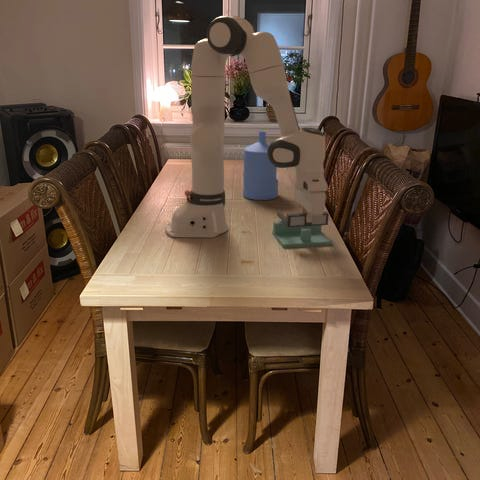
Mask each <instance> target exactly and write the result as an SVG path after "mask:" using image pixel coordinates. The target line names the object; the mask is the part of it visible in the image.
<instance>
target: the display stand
mask: <svg viewBox="0 0 480 480" xmlns="http://www.w3.org/2000/svg"><path fill="white" fill-rule="evenodd" d="M272 223H273V225H272V226H273V227H272V228H273V229H272V234H271V235H273V237H274V238H275V239H276V241H277V242H278V244H280V246H281V247H282V248H283V249H287V248H289V249H290V248H302V247H303V248H304V247H318V246H321V247H322V246H332V244H333V242H332V241H333V240H331V239H330V238H329V237H328V236H327V235H326V234H325V233H324V232H323V231H322V226H323V225H317V226H300V227H287V226H286V225H285V224H284V223H283V222H282V220H275V221H274V220H273V222H272Z"/></svg>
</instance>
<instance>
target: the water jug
mask: <svg viewBox="0 0 480 480" xmlns="http://www.w3.org/2000/svg"><path fill="white" fill-rule="evenodd" d="M266 134H267V132H266V131H258V141H257V142H255V143H252V144H250V145H248V146H246V147H245V148H244V149H243V172H242V177H243V178H242V179H243V181H242V182H243V183H242V184H243V185H242V188H243V189H242V195H243V197H245V198H246V199H248V200H253V201H271V200H274V199H276V198H277V197H278V196H279V180H278V179H277V168H278V167H275V166H274V165H273V164H272V163H271V162H270V161H269V159H268V154H267V152H268V147H269V145H270V144H271V143H269V142H267V140H266V139H267V135H266Z"/></svg>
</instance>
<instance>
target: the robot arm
mask: <svg viewBox="0 0 480 480" xmlns="http://www.w3.org/2000/svg"><path fill="white" fill-rule="evenodd" d="M256 29H257V28H256V26H255V25H254V24H253V22H251V21H250V20H249V19H247V18H244V17H240V16H236V15H230V16H229V15H221V16H218V17H216V18H214V19H213V20H212V21H211V22H210V23H209V25H208V26H207V30H206V38H204V39H201V40H199V41H197V42H196V43H195V45H194V47H193V52H192V59H191V70H190V72H191V74H190V75H191V76H190V77H191V79H190V80H191V81H190V84H191V85H190V87H191V88H190V89H191V90H190V93H191V95H190V96H191V98H190V99H191V100H190V101H191V115H192V118H191V119H192V129H191V131H190V133H189V146H190V162H191V177H192V178H191V179H192V184H191V185H192V189H191V190H189V189H185V190H184V195H185V196H186V201H185V202H183V204H182V205H180V206H179V207H177V208H176V209H175V210H173V214H172V216H171V221H170V222H168V223H167V224H166V225H165V233H166V235H168V236H169V237H171V238H208V239H209V238H216V237H217V236H218V235H221V234H224V233H226V232H227V231H228V230H229V226H228V222H227V217H226V212H225V211H226V210H225V206H226V191H225V187H224V186H225V167H224V166H225V163H224V162H225V160H224V159H225V158H224V156H225V155H224V149H225V148H224V139H225V121H226V119H225V112H226V111H225V110H226V109H225V106H226V105H225V102H226V100H225V99H226V96H225V95H226V65H227V64H226V63H227V60H228V59H229V57H232V58H233V57H236V56H239V55H240V56H241V57H242V58H244V60H245V63H246V66H247V71H248V75H249V80H250V84H251V88H252V89H253V91H254V93H255V95H256V96H257V97H258V98H259V99H261V100H263V101H265V102H266V103H268V105H270V106H271V108H272V109H273V112H274V115H275V118H276V121H277V125H278V128H279V132H280V137H278V138H277V139H275V140H273V141H271V142H270V143H269V144H270V145H269V147H268V152H267V154H268V159H269V161H270V162H271V163H272V164H273V165H274V166H275V167H277V168H278V169H284V168H285V169H287V168H288V169H289V168H293V167H294V168H295V182H294V190H293V198H294V200H295V201H296V202H297V203H298V204H299V205H300V208H301V213H307V216H306V217H305V221H306V222H307V223H311V222H312V217H313V216H319V215H322V214H323V212H325V207H326V197H327V196H326V195H327V194H326V192H328V190H329V189H328V188H329V187H328V182H327V181H326V179H325V169H324V161H325V159H326V158H325V157H326V138H325V134H324V133H323V132H322V131H321V130H319V129H317V128H314V127H301V128H300V127H299V123H298V119H297V115H296V111H295V107H294V103H293V102H292V97H291V95H290V91H289V90H290V89H289V85H288V80H287V75H286V71H285V69H286V68H285V66H284V61H283V60H284V59H283V57H282V54H281V51H280V47H279V44H278V42H277V40H276V38H275V36H274V35H273V33H271V32H268V31H258V32H257V30H256Z"/></svg>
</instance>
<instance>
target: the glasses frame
mask: <svg viewBox="0 0 480 480" xmlns="http://www.w3.org/2000/svg"><path fill="white" fill-rule="evenodd" d="M276 216H277V217H278V218H279V219H280V221H282V222H283V223H284V224H285V225H286V226H287V227H300V226H317V225H322V226H327V225H329V212H328V211H324V212H323V214H322V215H319V216H313V217H312V222H311V223H307V222H306V221H305V217H306V216H307V213H302V212H294V213H286V214H284V213H283V212H282V211H281V210H277V211H276Z"/></svg>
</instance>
